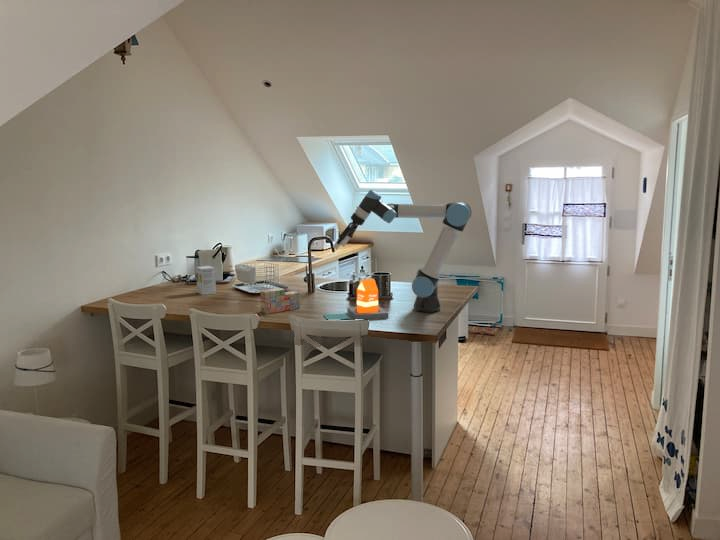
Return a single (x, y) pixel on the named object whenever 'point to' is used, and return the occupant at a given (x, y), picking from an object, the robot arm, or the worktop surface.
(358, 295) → the orange juice
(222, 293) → the worktop surface
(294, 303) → the patterned cardboard box
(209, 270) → the supplement box
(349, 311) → the puzzle board
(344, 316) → the mat
